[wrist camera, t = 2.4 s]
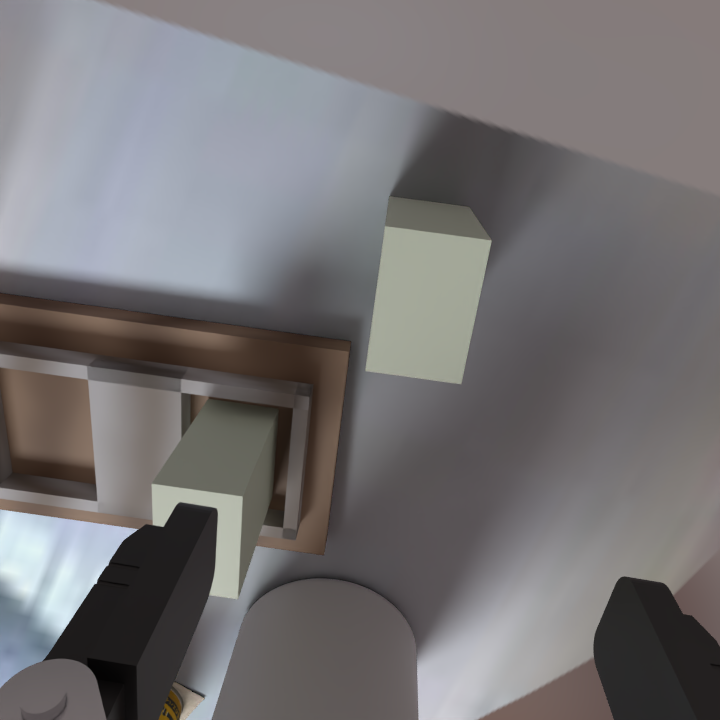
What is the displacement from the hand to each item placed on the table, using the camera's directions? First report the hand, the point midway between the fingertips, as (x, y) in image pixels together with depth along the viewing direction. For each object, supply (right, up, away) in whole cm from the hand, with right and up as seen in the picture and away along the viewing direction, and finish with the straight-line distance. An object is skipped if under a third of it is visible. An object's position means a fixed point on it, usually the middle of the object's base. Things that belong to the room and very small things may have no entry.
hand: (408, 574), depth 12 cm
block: (-8, -1, +22) cm, 23 cm away
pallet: (-13, 0, +23) cm, 27 cm away
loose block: (+2, +9, +19) cm, 21 cm away
